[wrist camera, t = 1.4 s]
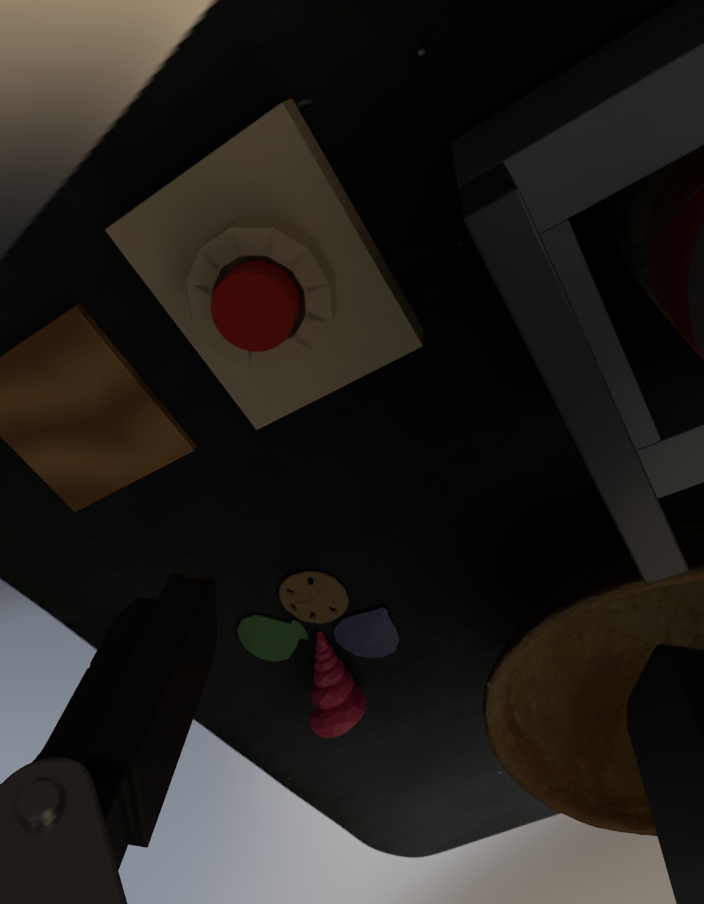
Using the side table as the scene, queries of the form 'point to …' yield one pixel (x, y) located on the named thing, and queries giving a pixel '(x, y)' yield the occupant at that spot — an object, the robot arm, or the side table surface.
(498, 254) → the dark grey square holder
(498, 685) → the bowl
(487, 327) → the side table surface
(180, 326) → the control box
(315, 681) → the toy pieces
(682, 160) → the spray bottle
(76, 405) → the coaster
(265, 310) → the button
